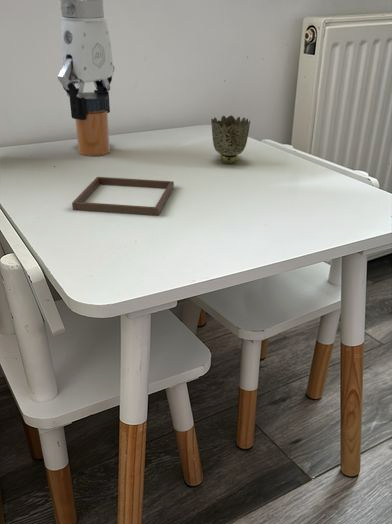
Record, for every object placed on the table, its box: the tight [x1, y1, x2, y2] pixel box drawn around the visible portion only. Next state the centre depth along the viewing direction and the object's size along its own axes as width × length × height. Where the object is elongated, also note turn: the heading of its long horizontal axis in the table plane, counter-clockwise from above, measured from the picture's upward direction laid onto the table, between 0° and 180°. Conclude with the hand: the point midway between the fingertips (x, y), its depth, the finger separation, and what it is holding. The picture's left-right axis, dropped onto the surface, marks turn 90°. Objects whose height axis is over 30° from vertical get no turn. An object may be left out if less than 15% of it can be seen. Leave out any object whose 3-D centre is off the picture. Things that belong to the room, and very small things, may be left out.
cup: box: [210, 114, 251, 165], centre depth 108 cm, size 8×7×8 cm
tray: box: [71, 176, 175, 217], centre depth 89 cm, size 13×13×2 cm
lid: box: [82, 91, 110, 112], centre depth 109 cm, size 7×7×2 cm
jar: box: [74, 110, 111, 157], centre depth 112 cm, size 6×6×10 cm
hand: (91, 114), depth 111 cm, fingers closed on lid, 7 cm apart
